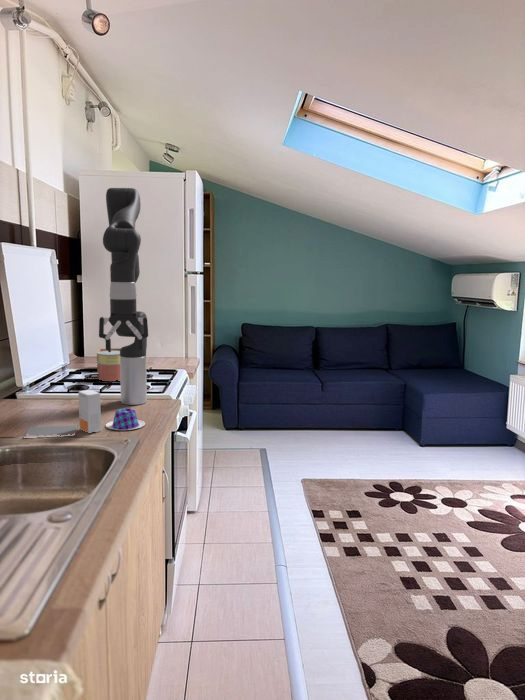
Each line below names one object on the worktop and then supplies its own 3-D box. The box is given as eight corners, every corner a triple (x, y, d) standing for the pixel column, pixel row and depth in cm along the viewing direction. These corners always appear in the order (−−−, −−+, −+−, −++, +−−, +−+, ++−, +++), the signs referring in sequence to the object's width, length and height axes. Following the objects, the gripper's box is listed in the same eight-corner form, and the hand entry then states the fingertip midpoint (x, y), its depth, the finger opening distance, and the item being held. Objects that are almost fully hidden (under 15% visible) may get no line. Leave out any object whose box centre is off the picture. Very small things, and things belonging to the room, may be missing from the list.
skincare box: (79, 429, 166) (77, 391, 164) (92, 427, 169) (91, 389, 167) (88, 434, 162) (87, 395, 160) (101, 431, 165) (100, 392, 163)
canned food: (128, 377, 242) (128, 350, 241) (119, 383, 231) (119, 355, 230) (104, 376, 244) (103, 350, 242) (94, 381, 232) (93, 354, 231)
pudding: (129, 419, 180) (129, 403, 179) (153, 426, 172) (152, 410, 171) (97, 426, 171) (97, 410, 170) (121, 434, 163) (120, 417, 162)
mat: (29, 428, 166) (29, 427, 166) (77, 426, 169) (77, 425, 169) (23, 438, 156) (23, 437, 156) (74, 436, 160) (74, 435, 160)
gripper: (147, 296, 167) (148, 349, 169) (98, 296, 164) (100, 350, 166) (148, 298, 160) (148, 353, 162) (97, 298, 156) (98, 354, 159)
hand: (124, 351), depth 164 cm, fingers open, 8 cm apart
